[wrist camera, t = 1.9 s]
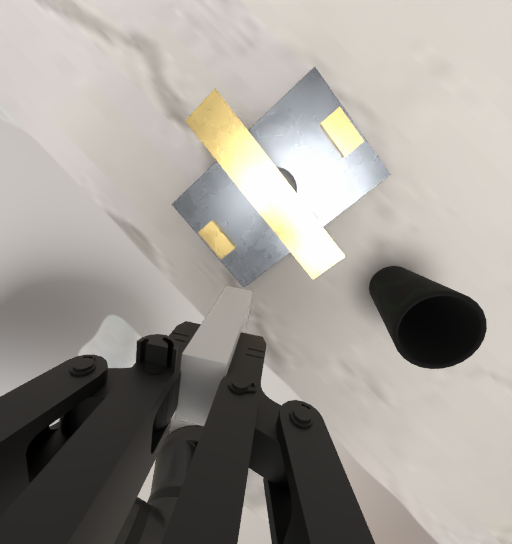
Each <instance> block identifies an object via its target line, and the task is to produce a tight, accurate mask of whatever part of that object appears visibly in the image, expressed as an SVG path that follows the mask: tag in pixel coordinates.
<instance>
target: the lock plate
mask: <svg viewBox="0 0 512 544" xmlns="http://www.w3.org/2000/svg"><path fill="white" fill-rule="evenodd" d="M248 132H249V133H250V134H251V135H252V137H253V138H254V139H255V141H256V142H257V143H258V144H259V146H260V147H261V148H262V150H263V151H264V152H265V154H266V155H267V156H268V157H269V159H270V160H271V161H272V163H273V164H274V165H275V166H276V168H277V169H278V170H279V172H280V173H281V174H282V175H283V177H284V178H285V179H286V181H287V182H288V183H289V185H290V186H291V187H292V188H293V190H294V191H295V192H296V194H297V195H298V196H299V197H300V199H301V200H302V201H303V203H304V204H305V205H306V206H307V208H308V209H309V210H310V212H311V213H312V214H313V216H314V217H315V218H316V219H317V221H318V222H319V223H320V225H321V226H322V227H323V226H324V225H326V224H327V223H328V222H330V221H331V220H332V219H334V218H335V217H336V216H337V215H339V214H340V213H341V212H343V211H344V210H345V209H347V208H348V207H349V206H350V205H352V204H353V203H354V202H356V201H357V200H358V199H360V198H361V197H362V196H363V195H365V194H366V193H367V192H369V191H370V190H371V189H373V188H374V187H375V186H376V185H378V184H379V183H380V182H382V181H383V180H384V179H386V178H387V177H388V176H389V175H391V174H390V173H389V172H388V170H387V169H386V167H385V166H384V164H383V163H382V162H381V160H380V159H379V157H378V156H377V155H376V153H375V152H374V150H373V149H372V147H371V146H370V145H369V143H368V142H367V140H366V139H365V137H364V136H363V135H362V133H361V132H360V130H359V129H358V127H357V126H356V125H355V123H354V122H353V120H352V119H351V117H350V116H349V115H348V113H347V112H346V110H345V109H344V107H343V106H342V105H341V103H340V102H339V100H338V99H337V97H336V96H335V95H334V93H333V92H332V90H331V89H330V88H329V86H328V85H327V83H326V82H325V80H324V79H323V78H322V76H321V75H320V73H319V72H318V70H317V69H316V68H315V67H314V68H313V69H312V70H311V71H310V72H309V73H308V74H307V75H306V76H305V77H304V78H303V79H302V80H301V81H300V82H298V83H297V84H296V85H295V86H294V87H293V88H292V89H291V90H290V91H289V92H288V93H287V94H286V95H285V96H284V97H283V98H282V99H281V100H280V101H279V102H278V103H277V104H276V105H275V106H274V107H273V108H272V109H271V110H269V111H268V112H267V113H266V114H265V115H264V116H263V117H262V118H261V119H260V120H259V121H258V122H257V123H256V124H255V125H254V126H253V127H252V128H251V129H250V130H249V131H248ZM172 205H173V206H174V207H175V209H176V210H177V211H178V212H179V213H180V214H181V216H182V217H183V218H184V219H185V220H186V221H187V223H188V224H189V225H190V226H191V227H192V228H193V229H194V231H195V232H196V233H197V234H198V235H199V236H200V238H201V239H202V240H203V241H204V242H205V243H206V245H207V246H208V247H209V248H210V249H211V250H212V251H213V253H214V254H215V255H216V256H217V257H218V258H219V260H220V261H221V262H222V263H223V264H224V265H225V266H226V268H227V269H228V270H229V271H230V272H231V273H232V275H233V276H234V277H235V278H236V279H237V280H238V282H239V283H240V284H241V285H242V286H243V287H245V286H246V285H248V284H249V283H250V282H252V281H253V280H254V279H256V278H257V277H258V276H259V275H261V274H262V273H263V272H265V271H266V270H267V269H269V268H270V267H271V266H272V265H274V264H275V263H276V262H278V261H279V260H280V259H282V258H283V257H284V256H285V255H287V254H288V253H289V252H290V250H289V249H288V248H287V247H286V245H285V244H284V243H283V242H282V240H281V239H280V238H279V237H278V236H277V234H276V233H275V232H274V231H273V229H272V228H271V227H270V226H269V224H268V223H267V222H266V221H265V219H264V218H263V217H262V216H261V215H260V213H259V212H258V211H257V210H256V208H255V207H254V206H253V205H252V203H251V202H250V201H249V200H248V198H247V197H246V196H245V195H244V194H243V192H242V191H241V190H240V189H239V187H238V186H237V185H236V184H235V182H234V181H233V180H232V179H231V177H230V176H229V175H228V174H227V173H226V171H225V170H224V169H223V168H222V166H221V165H220V164H219V163H218V161H217V162H216V163H215V164H213V165H212V166H211V167H210V168H209V169H208V170H207V171H206V172H205V173H204V174H203V175H202V176H201V177H200V178H199V179H198V180H197V181H196V182H195V183H194V184H193V185H192V186H191V187H190V188H189V189H188V190H187V191H186V192H184V193H183V194H182V195H181V196H180V197H179V198H178V199H177V200H176V201H175V202H174V203H173V204H172Z"/></svg>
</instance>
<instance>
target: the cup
mask: <svg viewBox="0 0 512 544" xmlns="http://www.w3.org/2000/svg"><path fill="white" fill-rule="evenodd" d="M369 290H370V294H371V297H372V299H373V301H374V303H375V305H376V307H377V309H378V311H379V313H380V315H381V317H382V319H383V321H384V324H385V326H386V328H387V330H388V332H389V334H390V336H391V338H392V340H393V342H394V344H395V346H396V348H397V350H398V352H399V353H400V354H401V355H402V357H403V358H404V359H406V360H407V361H409V362H410V363H412V364H414V365H417V366H419V367H423V368H429V369H440V368H446V367H450V366H454V365H456V364H458V363H461V362H463V361H464V360H466V359H467V358H469V357H470V356H472V355H473V353H474V352H475V351H476V350H477V349H478V348H479V347H480V345H481V343H482V341H483V340H484V337H485V333H486V329H487V328H486V318H485V315H484V312H483V310H482V309H481V307H480V306H479V305H478V303H477V302H475V301H474V300H473V299H471V298H470V297H468V296H466V295H464V294H461V293H459V292H457V291H455V290H452V289H450V288H448V287H445V286H443V285H441V284H439V283H436V282H434V281H432V280H429V279H427V278H425V277H422V276H420V275H418V274H416V273H413V272H411V271H409V270H406V269H404V268H402V267H397V266H391V267H386V268H383V269H382V270H380V271H378V272H377V273H376V274H375V275H374V276H373V278H372V279H371V282H370V287H369Z"/></svg>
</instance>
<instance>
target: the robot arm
mask: <svg viewBox="0 0 512 544" xmlns="http://www.w3.org/2000/svg"><path fill="white" fill-rule="evenodd" d="M252 295H253V291H250V290H245V289H240V288H236V287H231V286H226V287H225V288H224V290H223V292H222V293H221V295H220V296H219V298H218V299H217V301H216V302H215V304H214V305H213V307H212V308H211V310H210V312H209V313H208V315H207V316H206V318H205V319H204V321H203V322H202V324H196V323H192V322H187V321H186V322H184V323H182V324H180V325H178V326H177V327H176V328H175V329H174V330H173V332H172V333H171V334H170V335H169V336H167V335H159V334H155V335H148V336H145V337H142V338H141V339H139V340H138V341H137V353H136V363H135V364H134V366H133V367H131V368H108V365H107V361H106V360H105V359H104V358H103V357H101V356H97V355H82V356H77V357H74V358H72V359H69V360H67V361H65V362H64V363H62V364H60V365H58V366H56V367H54V368H52V369H51V370H49V371H47V372H45V373H43V374H42V375H40V376H38V377H36V378H34V379H32V380H30V381H28V382H27V383H25V384H23V385H21V386H19V387H18V388H16V389H14V390H12V391H10V392H8V393H7V394H5V395H3V396H1V397H0V544H237V542H238V535H239V528H240V522H241V515H242V508H243V502H244V495H245V488H246V482H247V475H248V468H250V469H252V470H253V471H255V472H256V473H258V474H259V475H261V476H263V477H264V479H263V482H264V489H265V496H266V503H267V511H268V518H269V524H270V533H271V539H272V544H375V542H374V540H373V538H372V535H371V533H370V530H369V529H368V526H367V523H366V521H365V518H364V516H363V514H362V511H361V509H360V506H359V504H358V502H357V499H356V497H355V494H354V492H353V490H352V487H351V485H350V482H349V480H348V478H347V475H346V473H345V471H344V468H343V466H342V464H341V461H340V459H339V456H338V454H337V451H336V449H335V447H334V444H333V442H332V439H331V437H330V435H329V432H328V430H327V427H326V425H325V423H324V420H323V418H322V416H321V415H320V413H319V412H318V411H317V410H316V409H315V408H314V407H313V406H311V405H309V404H307V403H305V402H303V401H297V400H293V401H288V402H286V403H284V404H283V405H282V406H281V405H279V404H278V403H275V402H274V401H272V400H271V399H269V398H268V397H267V396H266V395H265V394H264V392H263V391H262V388H261V376H262V369H263V363H264V356H265V350H266V343H265V341H264V339H263V337H260V336H255V335H251V334H246V327H247V322H248V317H249V311H250V306H251V300H252ZM175 410H176V415H175V420H179V421H184V422H188V423H192V424H196V425H200V426H204V427H200V426H189V427H184V428H180V429H178V430H176V431H174V432H172V433H171V434H170V435H168V433H169V429H170V422H171V417H172V416H173V414H174V412H175ZM59 418H60V421H59V422H58V423H56V424H54V425H52V426H50V427H49V425H50V424H52V423H53V422H54V421H55V420H57V419H59ZM167 435H168V436H167ZM166 437H167V438H166ZM155 459H156V462H155V470H154V475H153V482H152V488H151V495H150V497H149V500H148V502H147V503H146V502H145V501H143V500H141V499H140V498H138V497H137V496H138V494H139V492H140V490H141V487H142V485H143V483H144V481H145V479H146V477H147V475H148V473H149V471H150V469H151V467H152V465H153V463H154V461H155Z"/></svg>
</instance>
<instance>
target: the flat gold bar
mask: <svg viewBox="0 0 512 544" xmlns="http://www.w3.org/2000/svg"><path fill="white" fill-rule="evenodd" d="M185 122H186V123H187V124H188V126H189V127H190V128H191V129H192V131H193V132H194V133H195V134H196V136H197V137H198V138H199V139H200V140H201V142H202V143H203V144H204V145H205V147H206V148H207V149H208V150H209V152H210V153H211V154H212V155H213V157H214V158H215V159H216V160H217V161H218V163H219V164H220V165H221V166H222V168H223V169H224V170H225V171H226V173H227V174H228V175H229V176H230V177H231V179H232V180H233V181H234V182H235V184H236V185H237V186H238V187H239V189H240V190H241V191H242V192H243V194H244V195H245V196H246V197H247V198H248V200H249V201H250V202H251V203H252V205H253V206H254V207H255V208H256V210H257V211H258V212H259V213H260V215H261V216H262V217H263V218H264V219H265V221H266V222H267V223H268V224H269V226H270V227H271V228H272V229H273V231H274V232H275V233H276V234H277V236H278V237H279V238H280V239H281V240H282V242H283V243H284V244H285V245H286V247H287V248H288V249H289V250H290V252H291V253H292V254H293V255H294V257H295V258H296V259H297V260H298V261H299V263H300V264H301V265H302V266H303V268H304V269H305V270H306V271H307V273H308V274H309V275H310V276H311V278H312V279H314V278H316V277H317V276H319V275H320V274H321V273H323V272H324V271H326V270H327V269H328V268H330V267H331V266H333V265H334V264H335V263H337V262H338V261H340V260H341V259H342V258H344V257H345V256H344V254H343V253H342V252H341V250H340V249H339V248H338V247H337V245H336V244H335V243H334V241H333V240H332V239H331V237H330V236H329V235H328V234H327V232H326V231H325V230H324V228H323V227H322V226H321V225H320V223H319V222H318V221H317V219H316V218H315V217H314V216H313V214H312V213H311V212H310V210H309V209H308V208H307V206H306V205H305V204H304V203H303V201H302V200H301V199H300V197H299V196H298V195H297V194H296V192H295V191H294V190H293V188H292V187H291V186H290V185H289V183H288V182H287V181H286V179H285V178H284V177H283V175H282V174H281V173H280V172H279V170H278V169H277V168H276V166H275V165H274V164H273V163H272V161H271V160H270V159H269V157H268V156H267V155H266V154H265V152H264V151H263V150H262V148H261V147H260V146H259V144H258V143H257V142H256V141H255V139H254V138H253V137H252V135H251V134H250V133H249V132H248V130H247V129H246V128H245V126H244V125H243V124H242V123H241V121H240V120H239V119H238V117H237V116H236V115H235V113H234V112H233V111H232V110H231V108H230V107H229V106H228V104H227V103H226V102H225V101H224V99H223V98H222V97H221V95H220V94H219V93H218V92H217V90H216V89H214V90H213V91H212V92H211V93H210V95H209V96H208V97H207V98H206V99H205V100H204V101H203V102H202V103H201V104H200V105H199V106H198V107H197V108H196V109H195V111H194V112H193V113H192V114H191V115H190V116H189V117H188V118H187V119H186V120H185Z"/></svg>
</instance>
